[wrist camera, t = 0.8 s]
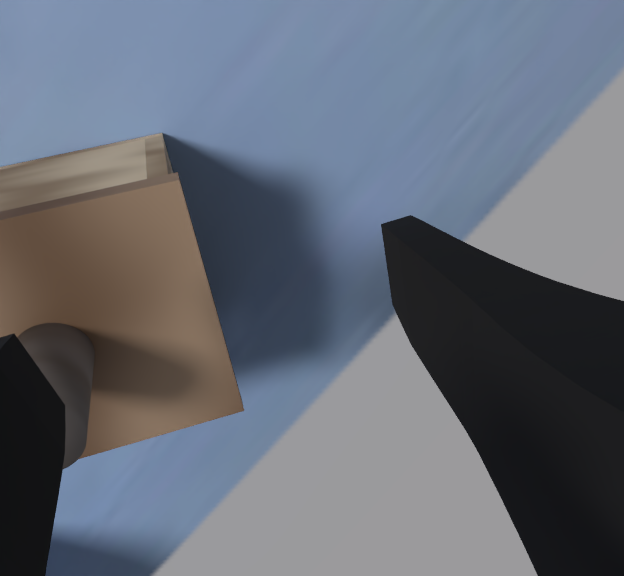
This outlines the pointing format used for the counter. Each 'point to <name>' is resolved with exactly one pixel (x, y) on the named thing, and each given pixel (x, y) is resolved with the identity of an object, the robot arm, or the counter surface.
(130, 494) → the counter surface
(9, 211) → the lid
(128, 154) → the box
